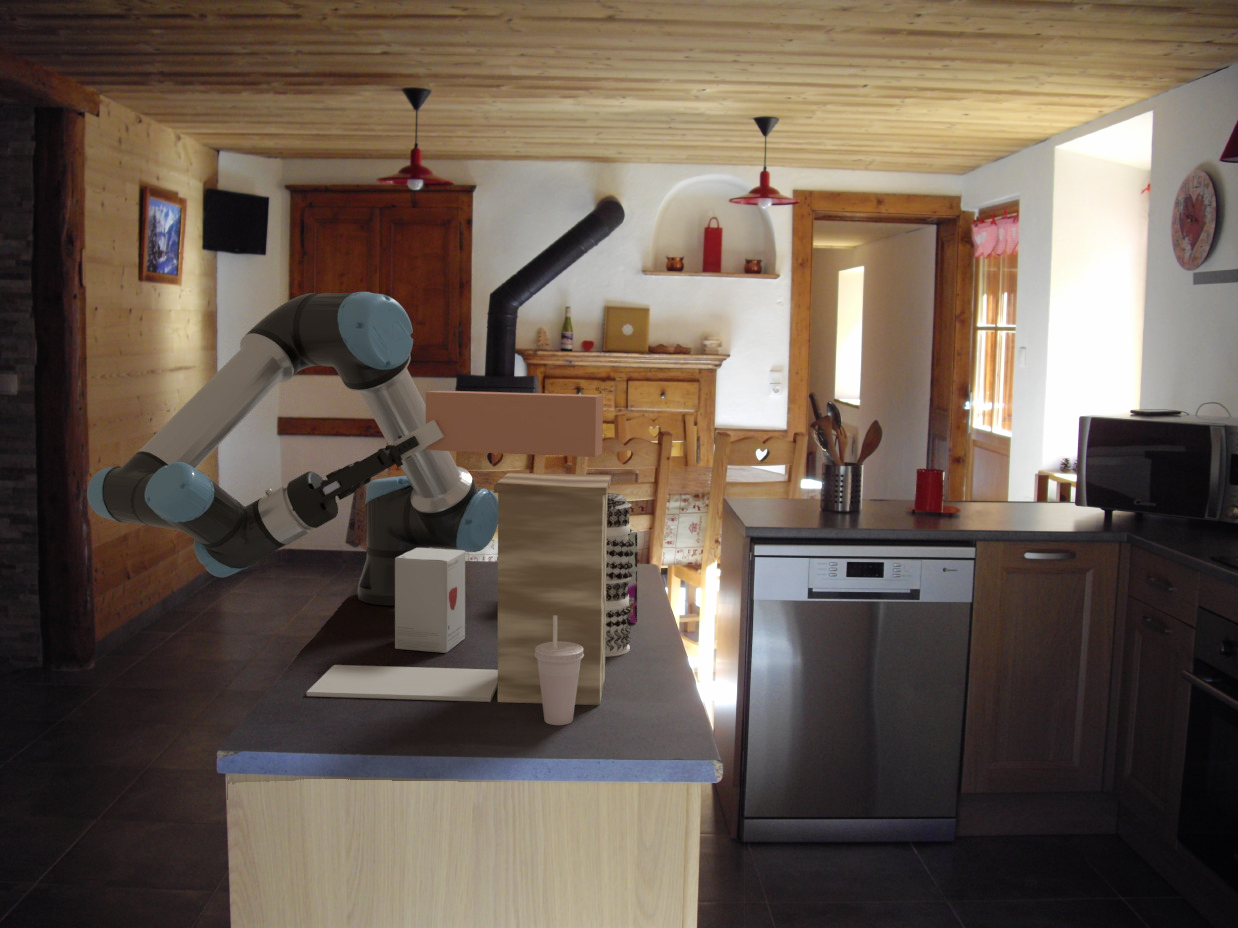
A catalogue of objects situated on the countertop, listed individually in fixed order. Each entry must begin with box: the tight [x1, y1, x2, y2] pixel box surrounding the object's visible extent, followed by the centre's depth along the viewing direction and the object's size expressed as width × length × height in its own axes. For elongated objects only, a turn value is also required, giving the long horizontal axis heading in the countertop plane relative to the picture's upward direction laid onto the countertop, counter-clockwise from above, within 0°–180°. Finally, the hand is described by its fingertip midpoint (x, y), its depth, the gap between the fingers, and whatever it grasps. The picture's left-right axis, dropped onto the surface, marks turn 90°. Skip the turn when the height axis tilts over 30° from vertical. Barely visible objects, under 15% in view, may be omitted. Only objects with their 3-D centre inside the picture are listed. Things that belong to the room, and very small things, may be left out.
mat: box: [306, 664, 498, 703], centre depth 150 cm, size 12×26×1 cm, turn 87°
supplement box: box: [394, 547, 466, 654], centre depth 169 cm, size 9×9×15 cm
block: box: [425, 390, 604, 458], centre depth 143 cm, size 4×24×8 cm, turn 77°
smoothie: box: [535, 615, 584, 726], centre depth 136 cm, size 6×6×14 cm
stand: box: [493, 472, 612, 706], centre depth 147 cm, size 13×15×30 cm
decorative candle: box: [605, 492, 634, 658], centre depth 167 cm, size 9×9×25 cm
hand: (442, 426), depth 145 cm, fingers closed on block, 4 cm apart
